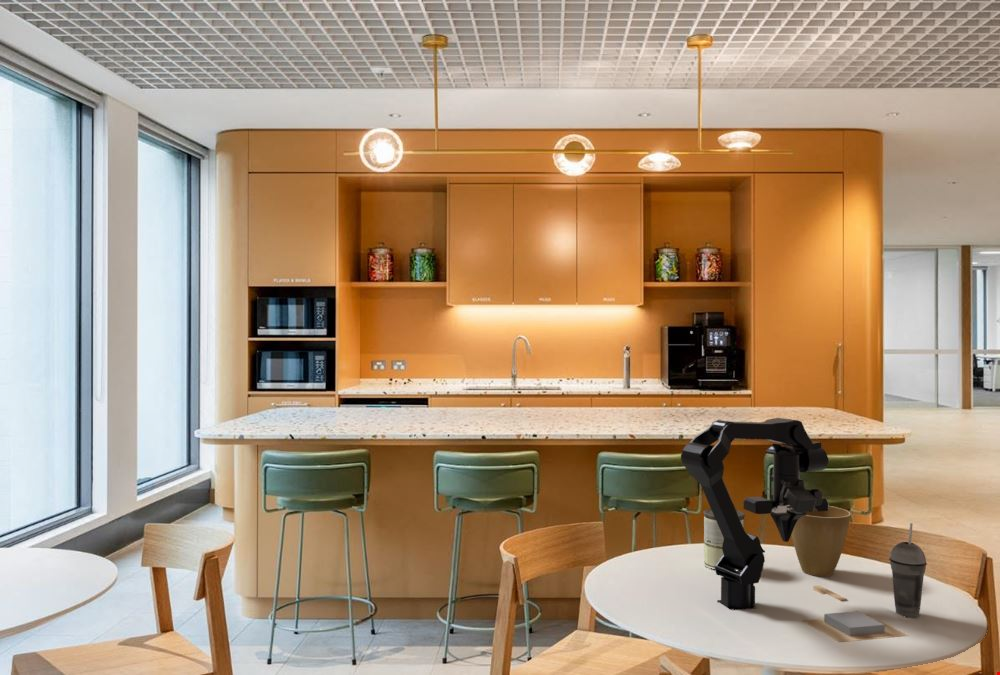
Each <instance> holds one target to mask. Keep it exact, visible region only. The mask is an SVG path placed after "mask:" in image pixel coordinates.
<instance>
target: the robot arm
mask: <svg viewBox="0 0 1000 675" xmlns="http://www.w3.org/2000/svg"><path fill="white" fill-rule="evenodd" d="M734 440H766V441H769V442H774V443H772V444H771V446H770V447H768V448H767V450H766V451H765V453H766V454H768V455H773V459H772V460H773V461H772V465H773V469H772V475H769V481H770V482H772V493H769V499H768V498H764V497H762V496H746V498H745V499H744V501H743V510H745V511H748V512H750V513H753V514H757V515H767V514H768V515H769V514H770V516H771V519H772V520H773V522H774V523H775V526H776V528H777V530H778V532H779V536H780V538H781V541H783V542H784V543H789V541H790V539H791V538H792V532H793V529H794V527H795V524H796V522H797V521H798V519H799V518H801V517H802V516H804V515H806V514H807V513H805V512H814V508H815V510H816V511H828V510H829V506H830V504H829V501H828V499H827V498H826V497H824V496H823V491H822V490H821V489H819V488H811V489H806V488H805V482H804V479H802V478H801V477H800V474H801V473H808V472H820V471H824V470H825V469H826V468H827V467H828V464H829V457H828V454H827V452H826V450H825V449H824V448H823V447H822V442H820V441H814V440H813V441H812V440H811V438H810V436H809V435H808V433H807V431H806V429H805V427H804V425H803V422H802V421H800V420H798V419H797V420H796V419H791V418H784V417H783V418H781V417H774V418H770V419H769V418H768V419H766V420H764V421H760V422H758V421H728V420H723V419H722V420H721V419H718V420H715V421H713V422H712V423H711V424H710V425H709V426H708V427H707V428H706V429H705V430H703V431H702V432H699V433H698V434H697V435H695V436H694V437H693V438H692V439H691V441H689V443H687V444H685V446H684V448H683V449H682V453H681V454H680V460H681V463H682V465H683V466H684V467H685V469H686V471H687V472H688V474H689V475H691V477H692V478H693V479H695V481H696V482H698V484H700V487H701V489H702V492H703V493H704V496H705V498H706V500H707V501H706V502H708V505H709V507H710V509H711V510H712V512H713V514H714V517H715V519H716V521H717V524H718V526H719V528H720V531H721V533H722V535H723V538H724V540H723V545H722V550H723V555H722V557H721V558H720V560H719V561H718V562H717V564H716V565H715V570H714V571H715V574H716V575H717V576H720V577H721V578H720V599H718V600H717V601H716V603H719V604H721V605H722V606H724V607H725V608H727V609H728V610H730V611H740V610H752V609H758V607H757V606H756V586H755V584H758V583H760V580H761V576H762V573H763V572H762V571H763V568H764V566H765V565H764V563H765V562H766V561H765V558H766V557H765V555H764V553H765V552H766V551H765V550H764V549H763V547H762V544H761V541H760V539H759V537H758V536H756V535H753V534H751V533H747V532H746V530H745V527H744V528H743V526H742V523H741V521H740V519H739V516H738V514H737V511H736V510H737V509H736V507H735V504H734V502H733V500H732V497H731V496H730V493H729V491H728V488H727V486H726V484H725V481H724V478H723V475H724V470H725V465H724V459H725V458H726V457H727V456H728V455H729V453H730V449H731V445H732V442H733V441H734ZM715 442H716V444H715V445H713V444H714V443H715ZM771 499H772V500H771ZM735 569H738V570H740V571H741V572H740V571H735Z"/></svg>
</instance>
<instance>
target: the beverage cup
mask: <svg viewBox="0 0 1000 675" xmlns="http://www.w3.org/2000/svg"><path fill="white" fill-rule="evenodd" d="M908 532H909V534H908V541H902V542H899V543H897V544H896V545H895V546H893V547H892V549H891V551H890V555H889V559H888V560H889V561H890V568H891V572H892V573H891V574H892V587H893V598H894V607H895V614H897V615H900V616H902V617H904V616H905V618H908V617H917V618H919V617H920V610H921V604H922V594H923V586H924V575H925V573H926V566H927V564H928V563H927V559H926V555H925V553H924V551H923V549H921V547H920V546H919V545H918V544H916V543H913V542H912V536H913V523H912V522H910V523H909V531H908ZM918 616H919V617H918Z"/></svg>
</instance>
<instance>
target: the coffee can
mask: <svg viewBox="0 0 1000 675" xmlns="http://www.w3.org/2000/svg"><path fill="white" fill-rule="evenodd" d="M736 511H737V514H738V516H739V519H740V521H741V523H742V526H743V528H744V529H745V514H746V513H745V512H743V511H742V510H741V511H740V510H738V509H736ZM703 515H704V516H703V527H704V528H703V532H704V533H703V566H704V565H705V566H706V568H707V567H708V568H707V569H709V568H712V569H715V565H716V564H717V562H718V561H719V560H720V558H721V557H722V555H723V550H722V545H723V540H724V538H723V535H722V533H721V531H720V528H719V526H718V524H717V521H716V519H715V517H714V514H713V512H712V510H711V508H708V509H704V510H703ZM705 566H704V567H705ZM712 569H711V570H712ZM736 570H738V569H735V571H736Z"/></svg>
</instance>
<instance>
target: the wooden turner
mask: <svg viewBox="0 0 1000 675" xmlns="http://www.w3.org/2000/svg"><path fill="white" fill-rule="evenodd" d="M813 591H815V592H817V593H818V594H821V595H828V596H830V597H832V598H834V599H836V600H838V601H840V602H848V598H847V597H844V596H842V595H840V594H838V593H836V592H834V591H832V590H829V589H828V588H825V587H823V586H822V585H813Z"/></svg>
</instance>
